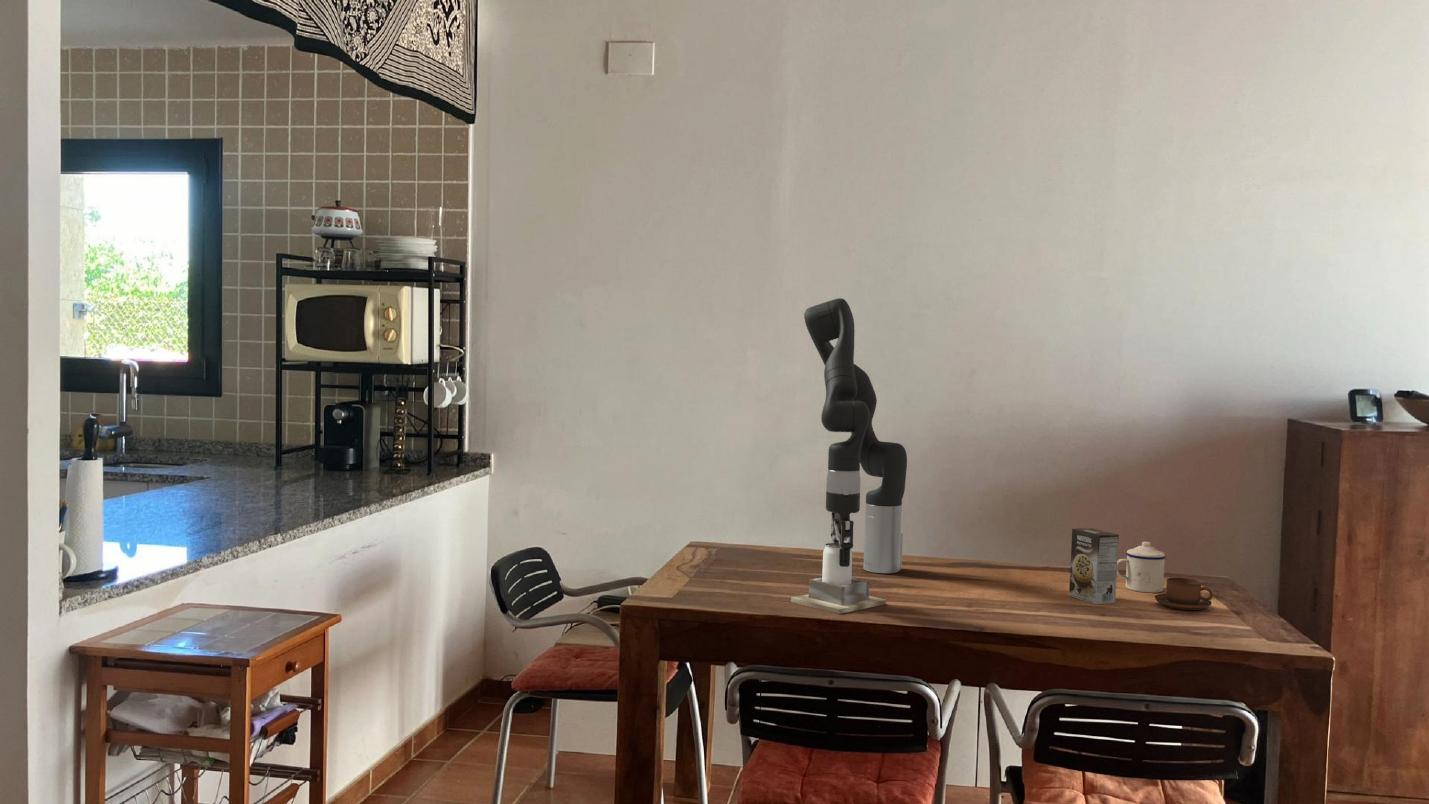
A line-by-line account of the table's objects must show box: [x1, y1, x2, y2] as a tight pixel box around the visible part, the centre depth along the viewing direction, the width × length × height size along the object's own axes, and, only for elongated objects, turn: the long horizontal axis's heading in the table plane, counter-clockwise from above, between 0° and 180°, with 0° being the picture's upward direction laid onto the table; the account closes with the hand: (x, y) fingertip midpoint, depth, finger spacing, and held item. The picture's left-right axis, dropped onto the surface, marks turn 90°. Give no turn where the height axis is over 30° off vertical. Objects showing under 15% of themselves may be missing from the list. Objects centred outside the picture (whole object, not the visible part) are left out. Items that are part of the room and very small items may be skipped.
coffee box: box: [1068, 527, 1120, 605], centre depth 260 cm, size 9×6×16 cm
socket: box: [790, 577, 887, 615], centre depth 249 cm, size 16×14×5 cm
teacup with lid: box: [1117, 541, 1167, 594], centre depth 274 cm, size 12×9×12 cm
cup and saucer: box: [1154, 577, 1214, 611], centre depth 256 cm, size 12×12×6 cm
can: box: [821, 542, 853, 586], centre depth 249 cm, size 6×6×12 cm
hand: (840, 562), depth 249 cm, fingers open, 8 cm apart
